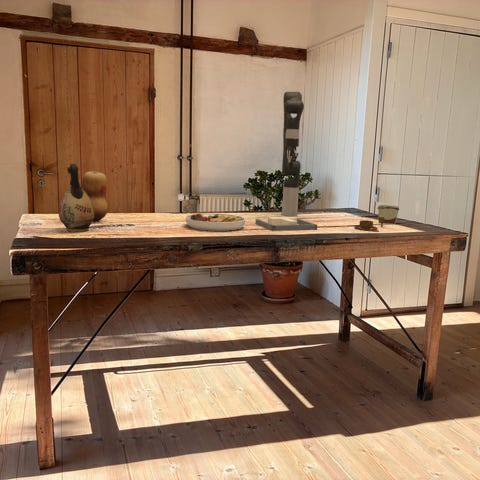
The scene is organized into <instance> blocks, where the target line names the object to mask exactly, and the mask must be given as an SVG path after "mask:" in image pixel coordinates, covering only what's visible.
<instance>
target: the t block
mask: <svg viewBox="0 0 480 480" xmlns="http://www.w3.org/2000/svg"><path fill="white" fill-rule="evenodd" d="M267 223H270V224H272V225H298V224H297V217H296V216H280V217H277V216H274V217H273V216H272V217H267Z"/></svg>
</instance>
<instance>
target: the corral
mask: <svg viewBox="0 0 480 480" xmlns="http://www.w3.org/2000/svg"><path fill="white" fill-rule="evenodd" d="M296 218H297V217H296ZM255 225H258V226H259V227H263V228H265V229H267V230H270V231H272V232H273V231H275V232H276V231H278V232H279V231H311V230H312V231H314V230H315V231H316V230H318V224H316V223H314V222H311V221H307V220H303V219H301V218H297V225H272V224H270V223H268V221H264V220H262V219H259V218H256V219H255Z"/></svg>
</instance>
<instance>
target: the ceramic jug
mask: <svg viewBox="0 0 480 480" xmlns="http://www.w3.org/2000/svg"><path fill="white" fill-rule="evenodd" d="M78 172H79V167H78V166H77V164H76V163H71V164H69V166H68V167H67V173H68V174H69V175H70V184H69V185H68V186H67V189H66V190H65V191H64V194H63V195H62V197H61V199H60V201H59V205H58V211H57V212H58V213H57V215H58V217H59V221H60V223H62V224H63V225H64V227H65V228H66V229H67V231H68V232H75V233H76V232H77V233H78V232H84V231H90V226H91V225H92V224H93V222H94V221H93V220H94V216H95V212H94V207H93V204H92V201H91V200H90V198H89V196H88V195H87V194H86V192H85V191H84V189H83V188H82V185H80V182H79V173H78Z"/></svg>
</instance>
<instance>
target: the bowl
mask: <svg viewBox="0 0 480 480" xmlns="http://www.w3.org/2000/svg"><path fill="white" fill-rule="evenodd" d="M185 223H186V225H187V226H189V227H190V228H192V229H194V230H198V229H199V231H206V230H208V231H207V232H229V230H232V231H236V230H237V229H238V230H239V229H242V228H243V227H244V226H245V224H246V218H245V217H243V216H239V215H235V214H225V213H201V212H198V213H193V214H190V215H187V216H185ZM238 230H237V231H238Z"/></svg>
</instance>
